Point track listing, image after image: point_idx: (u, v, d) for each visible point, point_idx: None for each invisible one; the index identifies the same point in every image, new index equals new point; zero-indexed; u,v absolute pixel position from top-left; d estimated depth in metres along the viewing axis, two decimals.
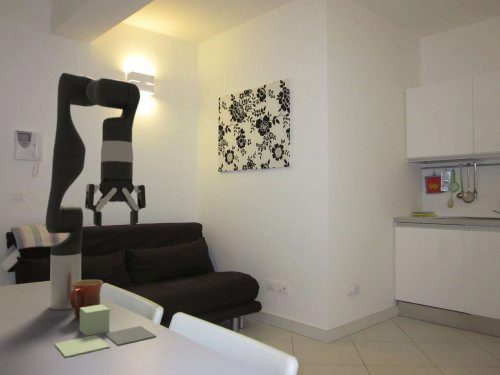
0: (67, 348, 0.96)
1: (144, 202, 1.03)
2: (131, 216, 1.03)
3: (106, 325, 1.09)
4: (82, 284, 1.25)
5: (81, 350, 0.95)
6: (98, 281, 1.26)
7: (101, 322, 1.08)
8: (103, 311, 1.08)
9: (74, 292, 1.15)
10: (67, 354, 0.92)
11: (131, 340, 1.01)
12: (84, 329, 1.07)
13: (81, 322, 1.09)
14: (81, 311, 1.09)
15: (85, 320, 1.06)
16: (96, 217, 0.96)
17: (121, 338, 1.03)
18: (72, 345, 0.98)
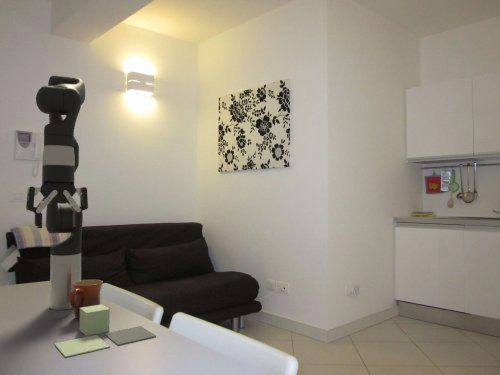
0: (67, 348, 0.96)
1: (86, 204, 1.08)
2: (73, 217, 1.07)
3: (106, 325, 1.09)
4: (82, 284, 1.25)
5: (81, 350, 0.95)
6: (98, 281, 1.26)
7: (101, 322, 1.08)
8: (103, 311, 1.08)
9: (74, 292, 1.15)
10: (67, 354, 0.92)
11: (131, 340, 1.01)
12: (84, 329, 1.07)
13: (81, 322, 1.09)
14: (81, 311, 1.09)
15: (85, 320, 1.06)
16: (37, 218, 1.01)
17: (121, 338, 1.03)
18: (72, 345, 0.98)
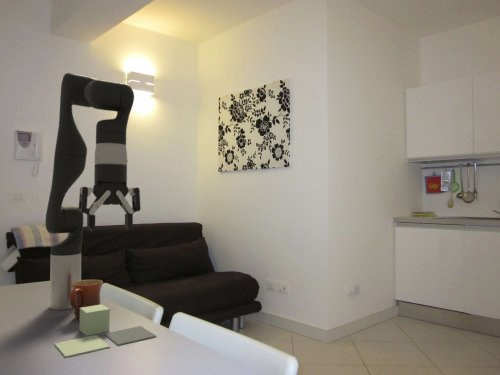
0: (67, 348, 0.96)
1: (139, 205, 1.02)
2: (125, 219, 1.02)
3: (106, 325, 1.09)
4: (82, 284, 1.25)
5: (81, 350, 0.95)
6: (98, 281, 1.26)
7: (101, 322, 1.08)
8: (103, 311, 1.08)
9: (74, 292, 1.15)
10: (67, 354, 0.92)
11: (131, 340, 1.01)
12: (84, 329, 1.07)
13: (81, 322, 1.09)
14: (81, 311, 1.09)
15: (85, 320, 1.06)
16: (90, 220, 0.95)
17: (121, 338, 1.03)
18: (72, 345, 0.98)
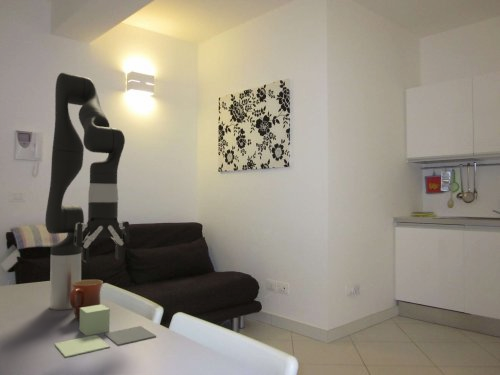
0: (67, 348, 0.96)
1: (128, 237, 1.13)
2: (116, 250, 1.13)
3: (106, 325, 1.09)
4: (82, 284, 1.25)
5: (81, 350, 0.95)
6: (98, 281, 1.26)
7: (101, 322, 1.08)
8: (103, 311, 1.08)
9: (74, 292, 1.15)
10: (67, 354, 0.92)
11: (131, 340, 1.01)
12: (84, 329, 1.07)
13: (81, 322, 1.09)
14: (81, 311, 1.09)
15: (85, 320, 1.06)
16: (84, 253, 1.06)
17: (121, 338, 1.03)
18: (72, 345, 0.98)
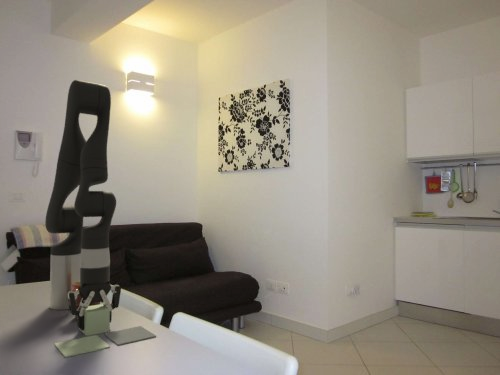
0: (67, 348, 0.96)
1: (117, 303, 1.13)
2: None
3: (106, 325, 1.09)
4: None
5: (81, 350, 0.95)
6: None
7: (101, 321, 1.08)
8: (103, 311, 1.08)
9: None
10: (67, 354, 0.92)
11: (131, 340, 1.01)
12: (84, 328, 1.07)
13: None
14: None
15: (85, 320, 1.06)
16: (79, 321, 1.07)
17: (121, 338, 1.03)
18: (72, 345, 0.98)
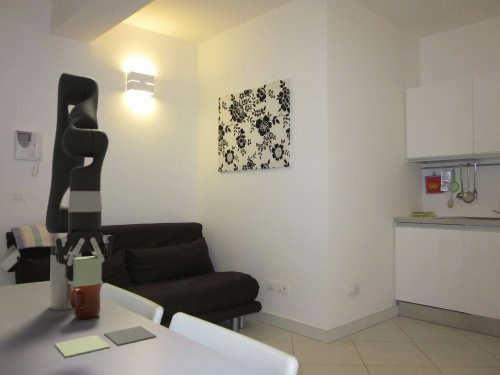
0: (67, 348, 0.96)
1: (110, 253, 1.02)
2: None
3: (98, 276, 0.98)
4: None
5: (81, 350, 0.95)
6: None
7: (92, 272, 0.97)
8: (94, 260, 0.97)
9: (74, 292, 1.15)
10: (67, 354, 0.92)
11: (131, 340, 1.01)
12: (73, 279, 0.96)
13: None
14: None
15: (74, 270, 0.95)
16: (68, 271, 0.96)
17: (121, 338, 1.03)
18: (72, 345, 0.98)
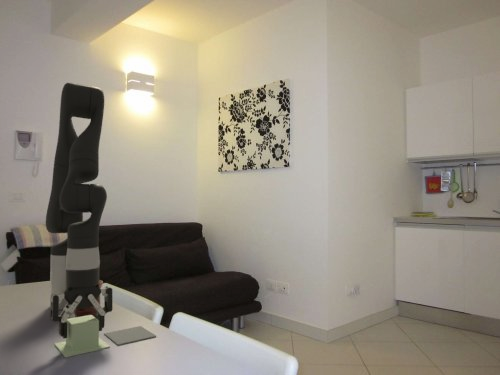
0: (67, 348, 0.96)
1: (111, 306, 1.01)
2: None
3: (95, 339, 0.97)
4: None
5: (81, 350, 0.95)
6: None
7: (89, 335, 0.96)
8: (92, 323, 0.97)
9: None
10: (67, 354, 0.92)
11: (131, 340, 1.01)
12: (70, 343, 0.95)
13: (67, 335, 0.98)
14: (67, 323, 0.98)
15: (71, 334, 0.95)
16: (61, 328, 0.95)
17: (121, 338, 1.03)
18: None
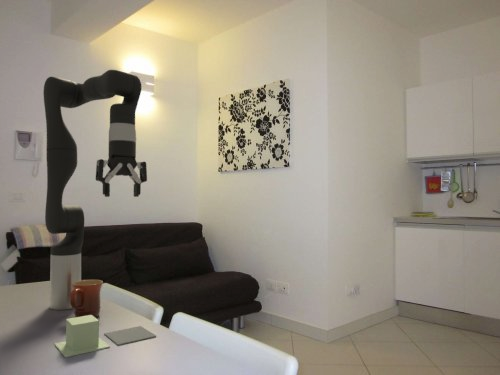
0: (67, 348, 0.96)
1: (145, 177, 1.20)
2: (134, 188, 1.20)
3: (95, 339, 0.97)
4: (82, 284, 1.25)
5: (81, 350, 0.95)
6: (98, 281, 1.26)
7: (89, 335, 0.96)
8: (92, 323, 0.97)
9: (74, 292, 1.15)
10: (67, 354, 0.92)
11: (131, 340, 1.01)
12: (70, 343, 0.95)
13: (67, 335, 0.98)
14: (67, 323, 0.98)
15: (71, 334, 0.95)
16: (105, 188, 1.13)
17: (121, 338, 1.03)
18: None
